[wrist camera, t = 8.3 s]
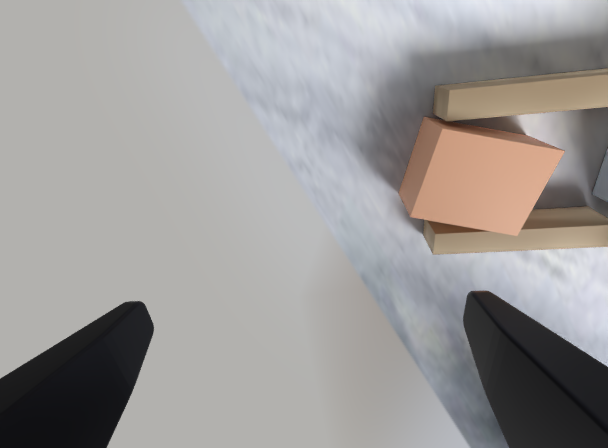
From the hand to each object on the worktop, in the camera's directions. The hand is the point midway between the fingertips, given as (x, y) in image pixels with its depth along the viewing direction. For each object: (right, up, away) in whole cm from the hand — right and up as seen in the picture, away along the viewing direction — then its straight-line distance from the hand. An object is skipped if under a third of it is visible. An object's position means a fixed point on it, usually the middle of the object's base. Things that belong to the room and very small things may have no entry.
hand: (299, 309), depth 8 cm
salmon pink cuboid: (+8, +5, +8) cm, 13 cm away
